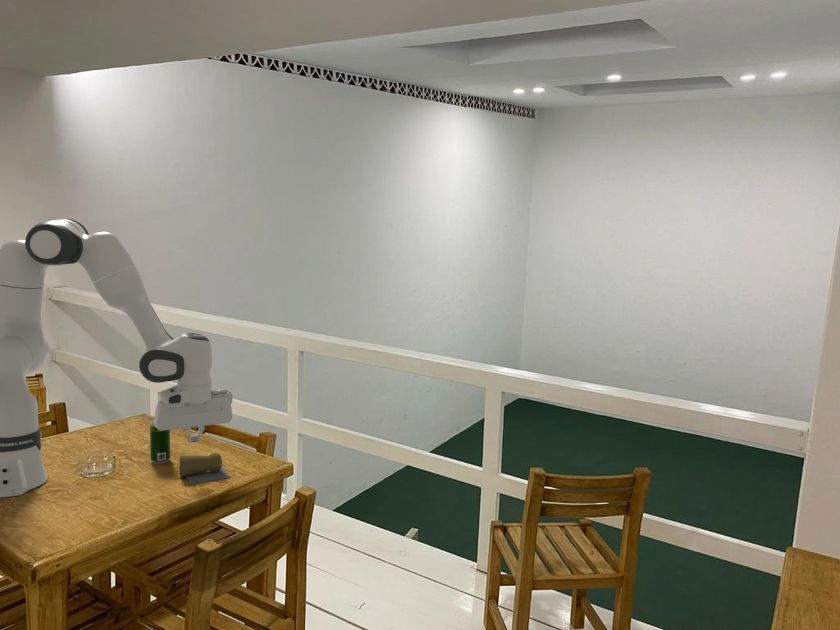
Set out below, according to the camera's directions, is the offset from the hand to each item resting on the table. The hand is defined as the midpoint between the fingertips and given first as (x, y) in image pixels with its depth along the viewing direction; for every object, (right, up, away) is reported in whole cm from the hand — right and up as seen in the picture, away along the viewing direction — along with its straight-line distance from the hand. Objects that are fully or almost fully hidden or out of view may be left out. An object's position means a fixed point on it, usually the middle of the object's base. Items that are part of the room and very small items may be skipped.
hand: (193, 441), depth 183 cm
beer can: (-14, -8, +12) cm, 20 cm away
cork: (-4, -7, 0) cm, 8 cm away
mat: (+2, -10, +3) cm, 11 cm away
